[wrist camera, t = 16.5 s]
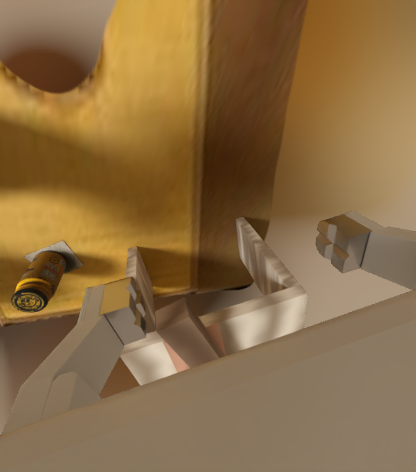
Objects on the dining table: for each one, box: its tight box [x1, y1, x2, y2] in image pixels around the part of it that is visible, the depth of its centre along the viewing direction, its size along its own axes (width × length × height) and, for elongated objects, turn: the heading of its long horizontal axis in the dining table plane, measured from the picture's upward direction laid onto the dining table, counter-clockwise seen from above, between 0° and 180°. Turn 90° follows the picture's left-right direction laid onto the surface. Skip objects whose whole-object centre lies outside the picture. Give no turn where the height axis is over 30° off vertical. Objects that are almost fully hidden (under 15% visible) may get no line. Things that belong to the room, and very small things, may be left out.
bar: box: [155, 298, 225, 368], centre depth 34 cm, size 4×24×3 cm, turn 22°
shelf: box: [120, 217, 308, 385], centre depth 47 cm, size 28×12×26 cm, turn 100°
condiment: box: [11, 241, 84, 312], centre depth 45 cm, size 7×8×12 cm
